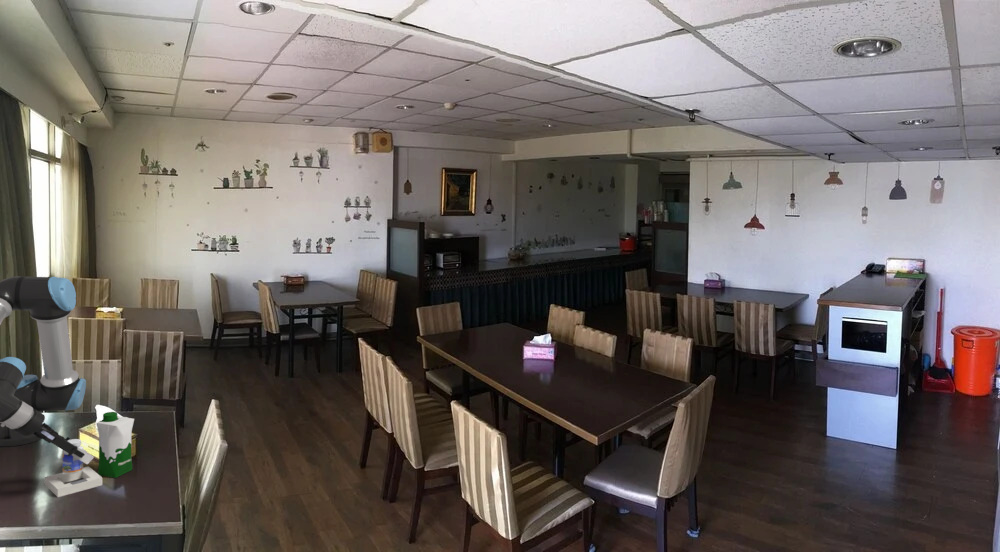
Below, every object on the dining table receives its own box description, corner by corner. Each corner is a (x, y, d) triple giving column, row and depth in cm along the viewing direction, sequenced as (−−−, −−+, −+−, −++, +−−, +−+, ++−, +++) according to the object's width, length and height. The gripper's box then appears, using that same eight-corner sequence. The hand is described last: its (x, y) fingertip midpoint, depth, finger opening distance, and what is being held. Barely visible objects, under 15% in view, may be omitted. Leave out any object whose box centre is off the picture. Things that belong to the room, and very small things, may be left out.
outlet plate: (44, 484, 191) (44, 476, 191) (88, 473, 201) (88, 465, 201) (57, 497, 184) (57, 488, 184) (102, 485, 194) (102, 477, 193)
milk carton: (114, 465, 208) (115, 408, 206) (137, 469, 206) (137, 412, 204) (92, 475, 200) (93, 416, 198) (116, 479, 198) (116, 420, 196)
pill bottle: (58, 472, 190) (58, 442, 189) (76, 466, 195) (76, 436, 194) (69, 475, 188) (69, 445, 187) (87, 469, 193) (87, 440, 192)
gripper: (3, 421, 183) (66, 459, 198) (21, 438, 172) (87, 476, 187) (24, 401, 187) (85, 439, 202) (44, 416, 176) (107, 455, 191)
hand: (86, 457), depth 194 cm, fingers closed on pill bottle, 5 cm apart
